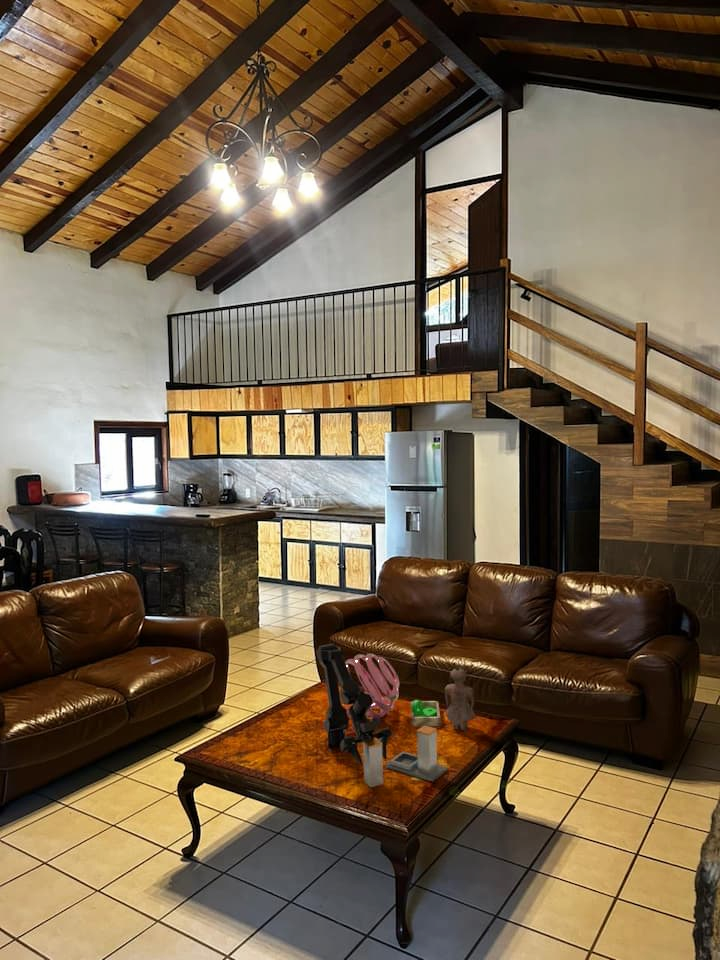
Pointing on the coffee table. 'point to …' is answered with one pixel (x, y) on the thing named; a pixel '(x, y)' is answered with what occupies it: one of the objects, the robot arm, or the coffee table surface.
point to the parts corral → (427, 720)
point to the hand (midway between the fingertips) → (374, 762)
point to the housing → (420, 757)
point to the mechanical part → (422, 710)
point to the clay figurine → (459, 700)
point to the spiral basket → (380, 681)
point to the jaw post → (373, 762)
